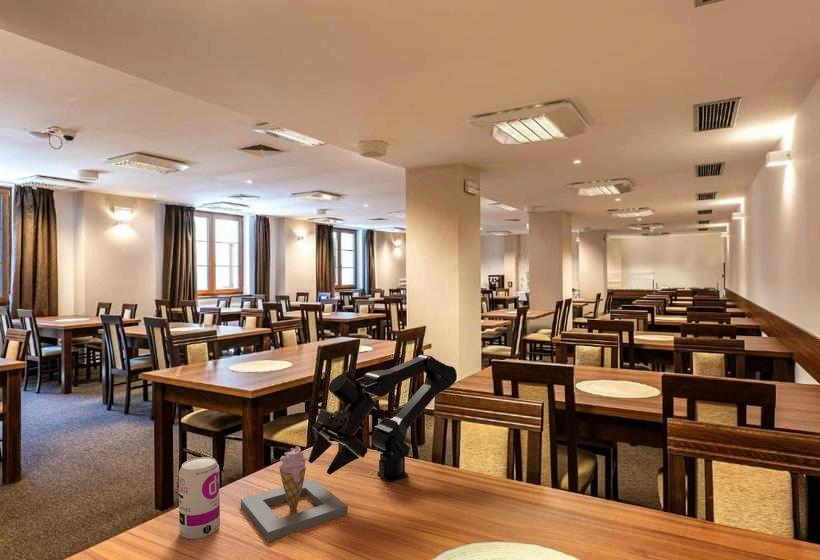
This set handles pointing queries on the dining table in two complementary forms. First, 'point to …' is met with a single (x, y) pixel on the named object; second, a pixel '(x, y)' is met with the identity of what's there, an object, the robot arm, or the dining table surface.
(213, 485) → the supplement can
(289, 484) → the ice cream cone
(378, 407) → the robot arm
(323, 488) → the grey flat square frame
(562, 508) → the dining table surface
